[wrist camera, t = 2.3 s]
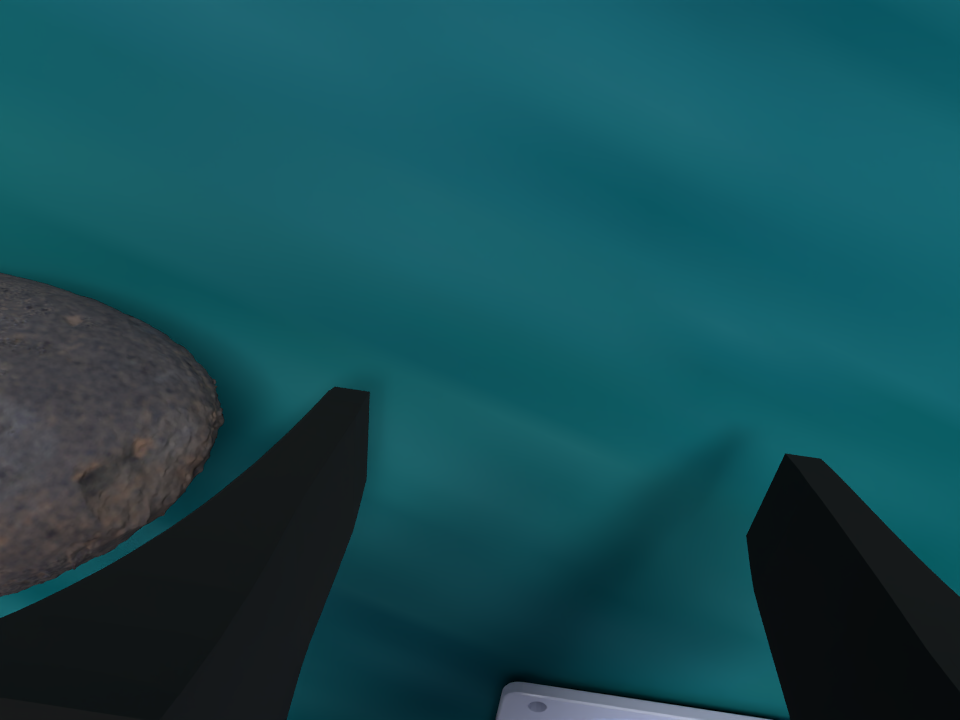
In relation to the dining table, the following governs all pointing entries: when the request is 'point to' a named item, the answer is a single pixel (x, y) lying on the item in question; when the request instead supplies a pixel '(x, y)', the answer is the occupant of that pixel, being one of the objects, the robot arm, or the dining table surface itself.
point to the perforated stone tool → (89, 428)
